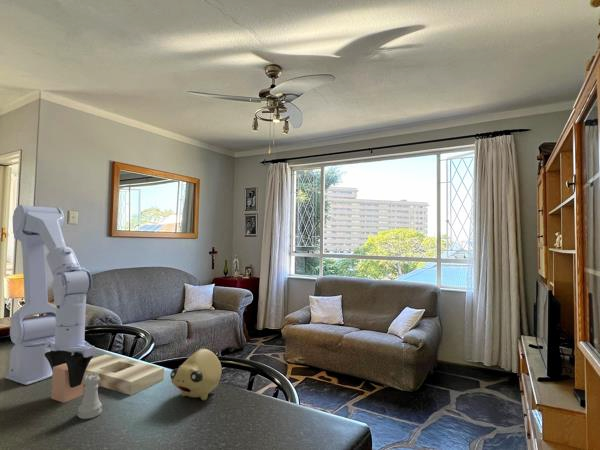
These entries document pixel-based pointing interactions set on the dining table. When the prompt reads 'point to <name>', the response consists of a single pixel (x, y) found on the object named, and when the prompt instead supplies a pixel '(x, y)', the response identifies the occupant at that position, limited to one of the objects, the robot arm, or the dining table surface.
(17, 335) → the robot arm
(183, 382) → the yellow toy creature
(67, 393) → the square peg
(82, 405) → the rook chess piece
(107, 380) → the rail
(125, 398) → the dining table surface
